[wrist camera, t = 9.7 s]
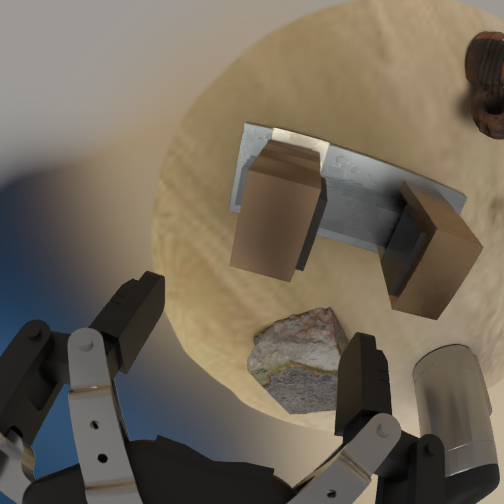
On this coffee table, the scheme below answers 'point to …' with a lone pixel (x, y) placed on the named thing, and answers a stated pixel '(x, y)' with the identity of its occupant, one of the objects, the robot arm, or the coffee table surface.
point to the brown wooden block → (279, 211)
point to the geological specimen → (300, 361)
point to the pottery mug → (487, 82)
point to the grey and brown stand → (384, 219)
